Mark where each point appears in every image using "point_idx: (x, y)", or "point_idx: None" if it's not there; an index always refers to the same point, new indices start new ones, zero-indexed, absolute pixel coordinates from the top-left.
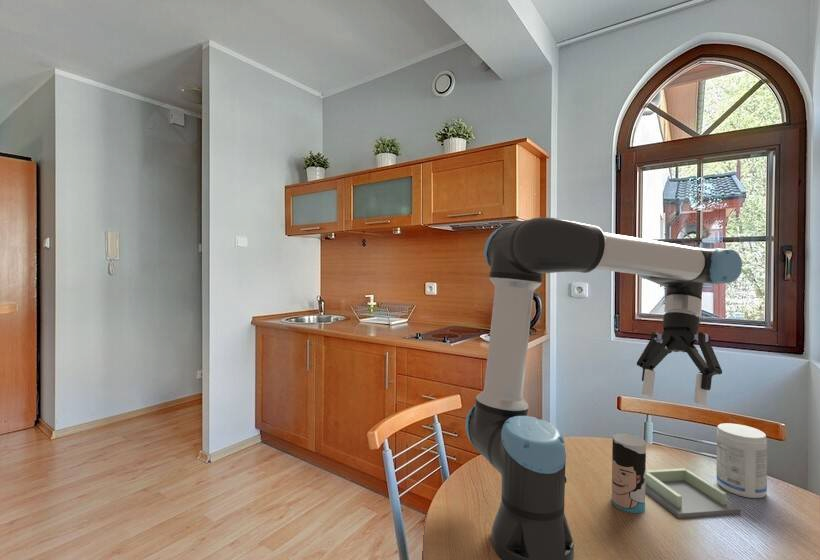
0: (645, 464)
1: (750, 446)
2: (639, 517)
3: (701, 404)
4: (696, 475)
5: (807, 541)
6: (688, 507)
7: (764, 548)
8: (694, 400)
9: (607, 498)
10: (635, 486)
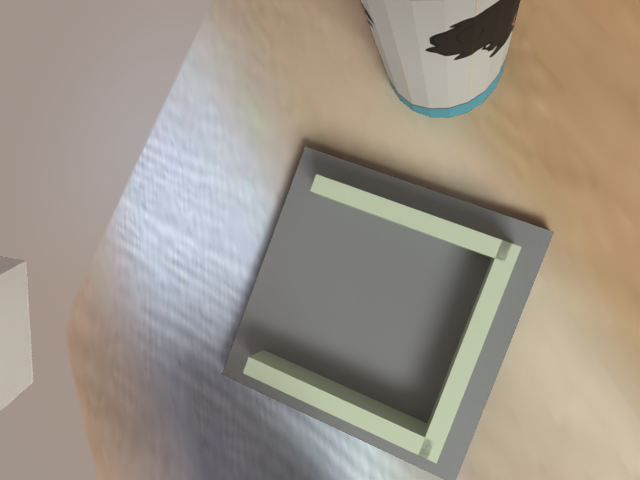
0: (364, 10)
1: None
2: None
3: (23, 357)
4: (372, 430)
5: (84, 378)
6: (309, 218)
7: (125, 230)
8: (7, 267)
9: None
10: None
